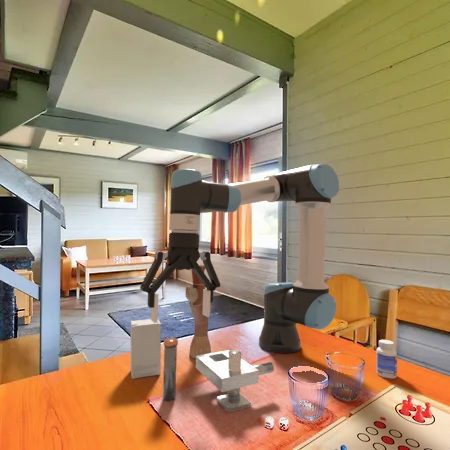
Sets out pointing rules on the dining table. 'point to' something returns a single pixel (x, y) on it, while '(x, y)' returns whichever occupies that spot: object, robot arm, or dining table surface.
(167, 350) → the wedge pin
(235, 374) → the square pedestal tray
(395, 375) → the pill bottle
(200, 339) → the tan tall irregular piece
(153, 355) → the skincare box
